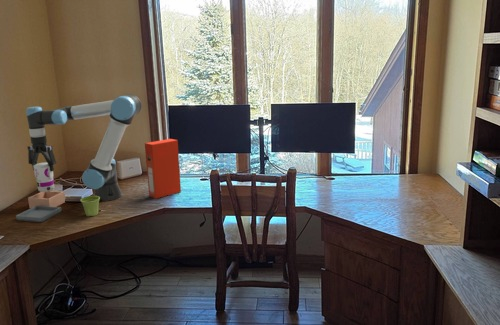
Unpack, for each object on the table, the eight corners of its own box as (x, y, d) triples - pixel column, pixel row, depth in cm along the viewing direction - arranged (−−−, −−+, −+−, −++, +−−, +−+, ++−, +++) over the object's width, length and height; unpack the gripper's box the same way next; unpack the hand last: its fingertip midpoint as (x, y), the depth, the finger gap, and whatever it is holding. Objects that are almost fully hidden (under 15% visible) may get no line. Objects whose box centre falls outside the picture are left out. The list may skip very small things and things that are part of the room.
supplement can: (58, 188, 227) (54, 162, 223) (46, 193, 220) (42, 166, 216) (46, 187, 230) (42, 161, 226) (34, 191, 222) (30, 165, 218)
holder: (65, 201, 232) (64, 191, 230) (50, 209, 219) (48, 199, 218) (46, 200, 234) (44, 190, 233) (29, 208, 222) (27, 197, 221)
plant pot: (90, 219, 206) (88, 203, 204) (78, 215, 211) (76, 199, 208) (105, 213, 213) (103, 197, 211) (93, 209, 218) (92, 194, 216)
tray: (61, 211, 217) (61, 207, 216) (42, 222, 202) (41, 217, 202) (37, 209, 220) (37, 205, 219) (16, 220, 206) (15, 215, 205)
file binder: (148, 195, 240) (144, 142, 232) (173, 189, 251) (170, 138, 243) (156, 199, 234) (152, 144, 226) (180, 192, 246) (177, 140, 238)
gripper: (59, 134, 218) (65, 175, 224) (26, 134, 223) (33, 173, 229) (50, 137, 211) (56, 179, 217) (16, 136, 216) (23, 177, 221)
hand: (44, 176), depth 223 cm, fingers closed on supplement can, 8 cm apart
